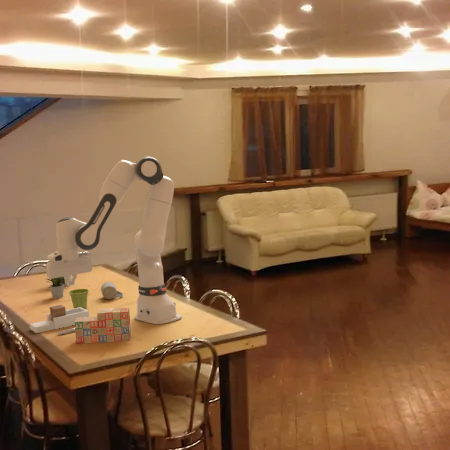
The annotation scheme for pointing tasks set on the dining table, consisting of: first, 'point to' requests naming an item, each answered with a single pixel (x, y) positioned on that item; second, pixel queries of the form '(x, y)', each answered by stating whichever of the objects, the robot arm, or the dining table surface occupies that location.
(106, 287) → the ceramic mug
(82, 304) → the plant pot
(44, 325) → the channel
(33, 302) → the dining table surface
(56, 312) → the walnut block
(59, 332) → the steel rod
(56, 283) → the house plant
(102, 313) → the stack of blocks
